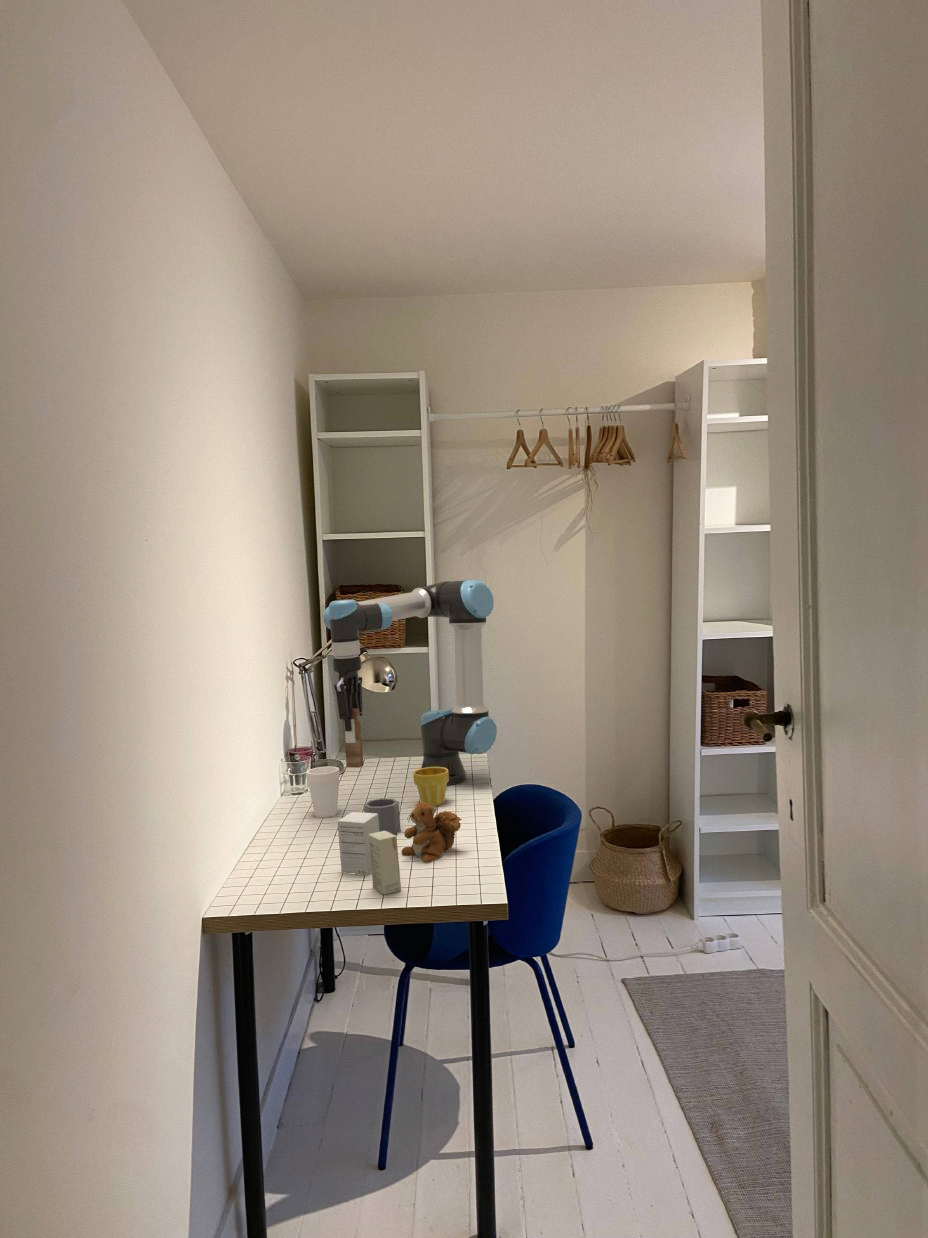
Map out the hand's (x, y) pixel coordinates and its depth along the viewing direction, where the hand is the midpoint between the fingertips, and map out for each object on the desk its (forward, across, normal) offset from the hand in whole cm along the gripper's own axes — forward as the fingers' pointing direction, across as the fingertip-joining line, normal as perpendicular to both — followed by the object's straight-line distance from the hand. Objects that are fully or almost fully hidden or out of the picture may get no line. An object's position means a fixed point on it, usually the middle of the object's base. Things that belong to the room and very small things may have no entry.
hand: (353, 741), depth 243 cm
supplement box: (+23, +33, +16) cm, 44 cm away
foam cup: (+24, -8, -14) cm, 28 cm away
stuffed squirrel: (+24, +21, +29) cm, 43 cm away
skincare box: (+23, +44, +27) cm, 57 cm away
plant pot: (+24, -22, +14) cm, 35 cm away
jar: (+23, +6, +10) cm, 26 cm away
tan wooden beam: (+7, 0, 0) cm, 7 cm away
